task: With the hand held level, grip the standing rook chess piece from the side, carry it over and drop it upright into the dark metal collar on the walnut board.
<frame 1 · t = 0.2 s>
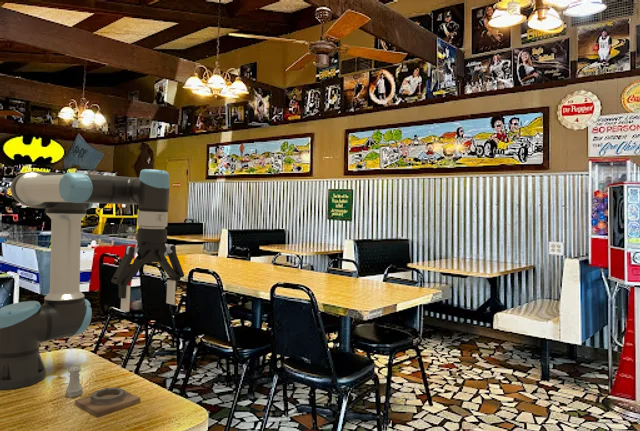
hand: (148, 307, 121), 27 cm above the table, tool pointing down, fingers open, 13 cm apart
rook chess piece: (74, 395, 130), on the table
socket board: (108, 403, 125), on the table
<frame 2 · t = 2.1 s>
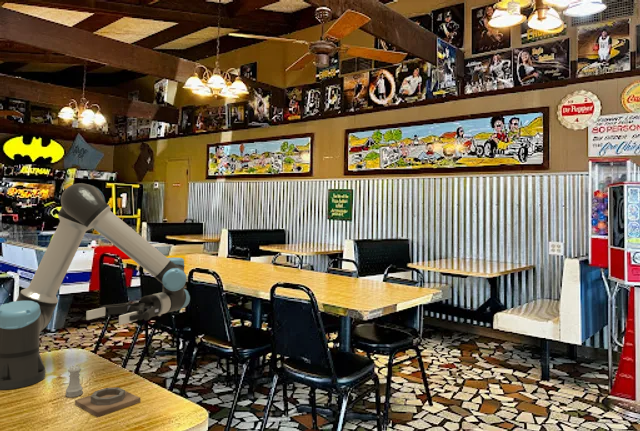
hand: (103, 317, 138), 20 cm above the table, tool horizontal, fingers open, 13 cm apart
nothing on the table moved.
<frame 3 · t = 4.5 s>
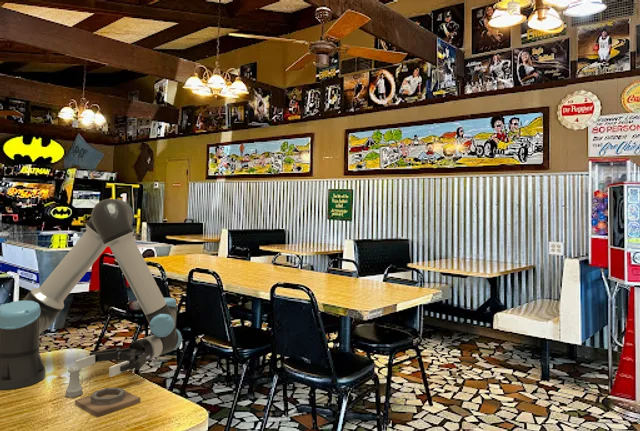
hand: (92, 368, 135), 6 cm above the table, tool horizontal, fingers open, 13 cm apart
nothing on the table moved.
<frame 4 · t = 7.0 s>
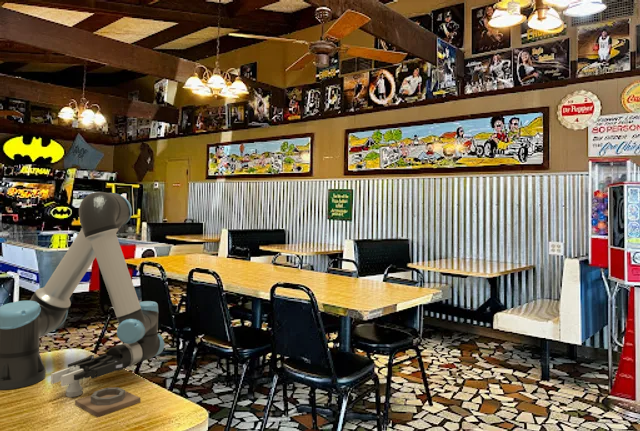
hand: (57, 379, 125), 6 cm above the table, tool horizontal, fingers closed on rook chess piece, 3 cm apart
rook chess piece: (74, 395, 130), on the table, touching gripper
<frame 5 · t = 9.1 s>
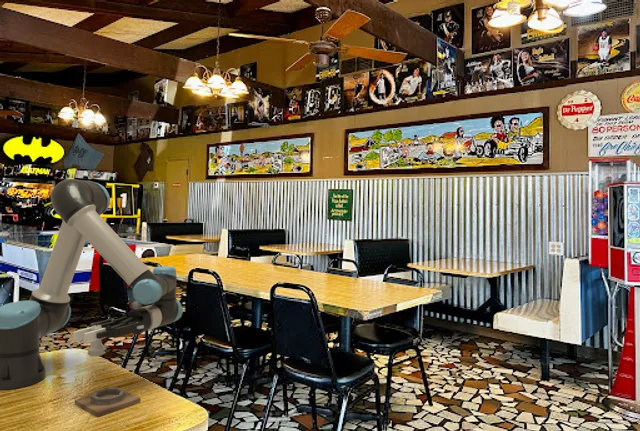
hand: (79, 337, 122), 18 cm above the table, tool horizontal, fingers closed on rook chess piece, 3 cm apart
rook chess piece: (96, 355, 127), point 12 cm above the table, touching gripper
when the fingers open (9 cm above the table, at t = 11.4 s): rook chess piece drops 2 cm, resting on socket board.
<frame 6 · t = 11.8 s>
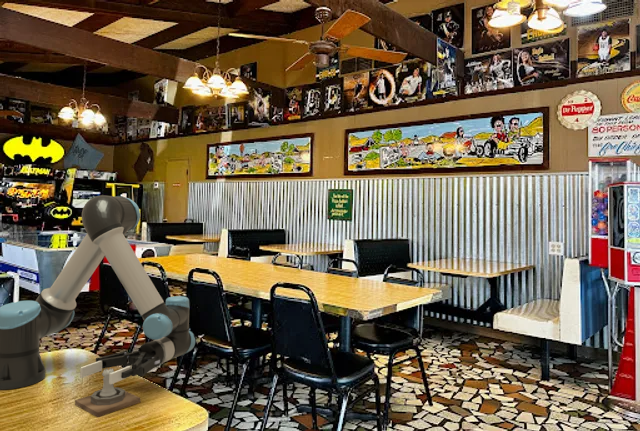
hand: (95, 375, 121), 9 cm above the table, tool horizontal, fingers open, 10 cm apart
rook chess piece: (108, 399, 125), point 1 cm above the table, touching socket board
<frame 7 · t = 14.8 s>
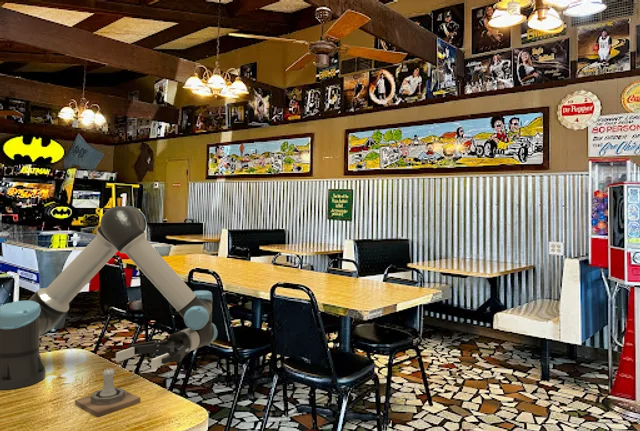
hand: (134, 360, 133), 9 cm above the table, tool horizontal, fingers open, 13 cm apart
nothing on the table moved.
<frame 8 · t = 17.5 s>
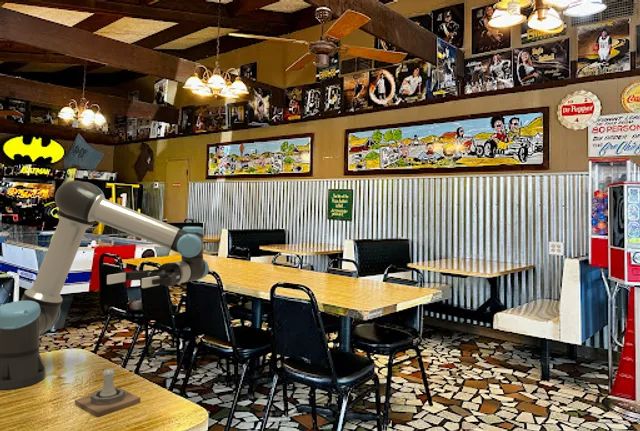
hand: (124, 281, 134), 32 cm above the table, tool horizontal, fingers open, 13 cm apart
nothing on the table moved.
at the end: rook chess piece 0.1 cm off-centre on the socket board, point 1.0 cm above the socket board's base; rook chess piece tilted 0°; the gripper is holding nothing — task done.
